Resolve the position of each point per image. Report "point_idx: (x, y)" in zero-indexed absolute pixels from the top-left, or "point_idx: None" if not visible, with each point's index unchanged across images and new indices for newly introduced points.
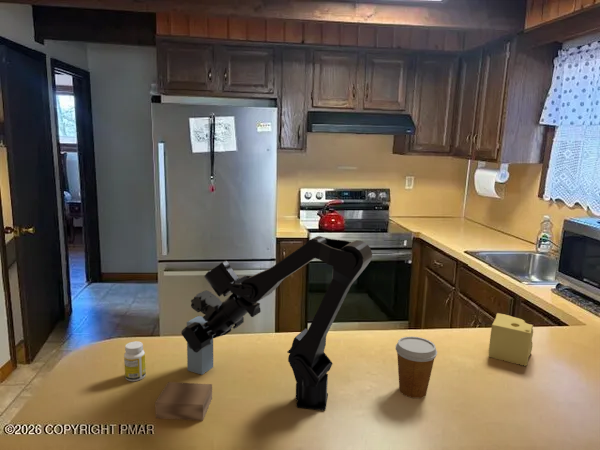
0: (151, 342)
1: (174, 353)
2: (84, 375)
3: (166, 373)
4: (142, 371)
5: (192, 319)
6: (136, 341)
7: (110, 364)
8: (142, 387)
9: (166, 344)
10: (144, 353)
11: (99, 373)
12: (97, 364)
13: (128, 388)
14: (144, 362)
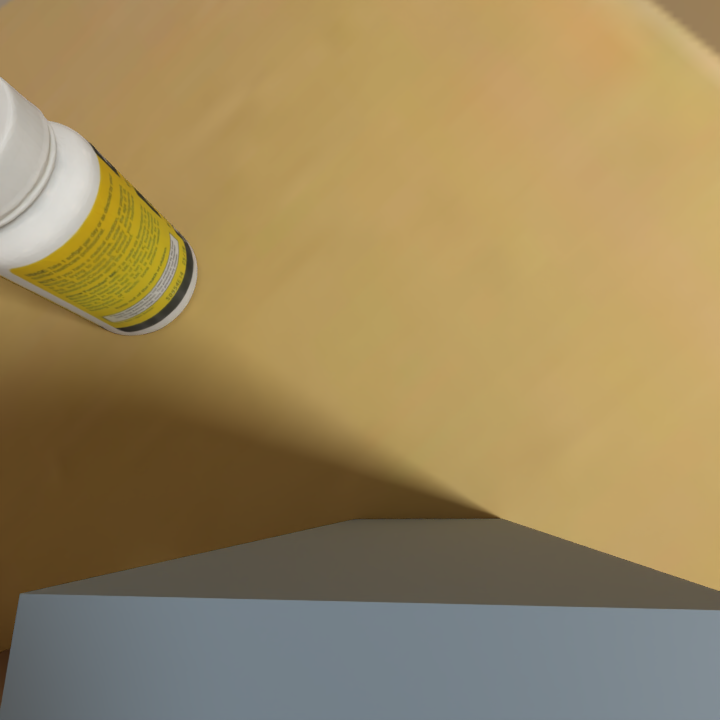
0: (536, 20)
1: (507, 249)
2: (69, 77)
3: (253, 412)
4: (104, 319)
5: (294, 646)
6: (4, 92)
7: (201, 74)
8: (64, 408)
9: (579, 108)
10: (50, 248)
11: (107, 110)
12: (175, 31)
13: (33, 348)
14: (93, 290)
